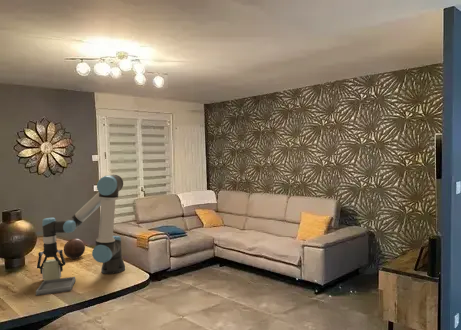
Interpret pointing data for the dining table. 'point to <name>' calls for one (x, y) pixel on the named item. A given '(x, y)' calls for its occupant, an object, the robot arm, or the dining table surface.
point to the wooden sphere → (74, 248)
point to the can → (51, 270)
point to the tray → (55, 286)
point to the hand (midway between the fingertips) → (52, 277)
